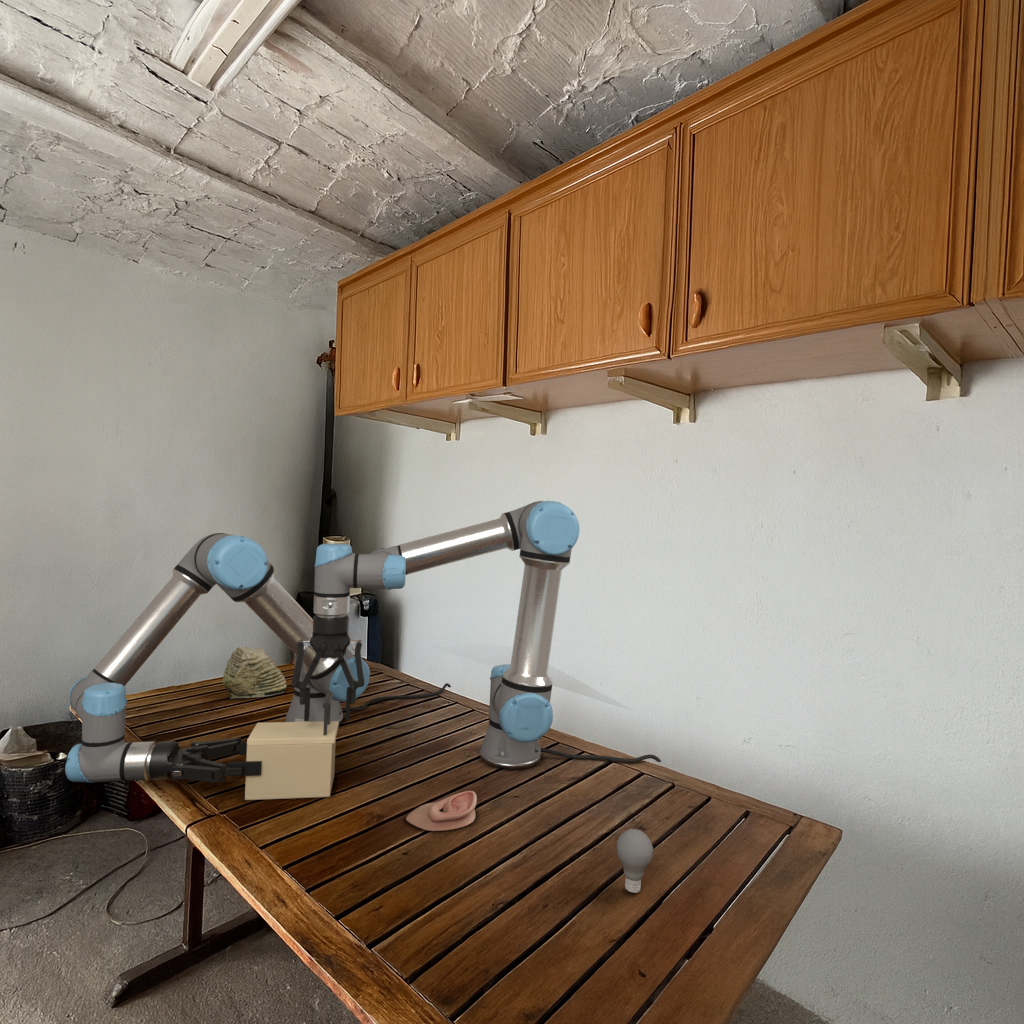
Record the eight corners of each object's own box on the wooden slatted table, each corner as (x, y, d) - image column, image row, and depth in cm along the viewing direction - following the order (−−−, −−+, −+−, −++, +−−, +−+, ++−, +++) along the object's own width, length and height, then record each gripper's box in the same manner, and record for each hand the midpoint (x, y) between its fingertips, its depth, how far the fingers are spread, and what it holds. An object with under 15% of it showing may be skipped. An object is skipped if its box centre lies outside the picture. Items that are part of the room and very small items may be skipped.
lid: (338, 726, 144) (340, 689, 144) (334, 743, 134) (336, 704, 134) (257, 727, 140) (258, 690, 140) (246, 745, 131) (248, 705, 130)
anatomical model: (400, 806, 123) (421, 781, 134) (399, 826, 123) (420, 799, 134) (466, 816, 120) (481, 789, 131) (465, 836, 120) (481, 808, 131)
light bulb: (610, 879, 108) (613, 822, 108) (644, 879, 109) (647, 822, 109) (619, 902, 102) (622, 840, 102) (655, 901, 103) (658, 840, 103)
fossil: (218, 695, 195) (220, 647, 195) (278, 685, 208) (279, 640, 207) (228, 703, 189) (230, 653, 188) (289, 692, 201) (290, 645, 201)
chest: (334, 776, 144) (336, 726, 144) (329, 796, 134) (332, 743, 134) (255, 778, 141) (257, 728, 140) (244, 800, 131) (246, 745, 131)
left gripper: (172, 756, 143) (275, 753, 147) (131, 804, 121) (254, 799, 125) (173, 723, 143) (276, 721, 147) (132, 765, 121) (255, 761, 125)
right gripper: (278, 617, 132) (274, 725, 133) (379, 618, 136) (375, 723, 137) (284, 611, 140) (280, 713, 140) (380, 612, 144) (376, 711, 144)
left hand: (266, 757), depth 136 cm, fingers closed on chest, 10 cm apart
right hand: (327, 718), depth 138 cm, fingers open, 8 cm apart
